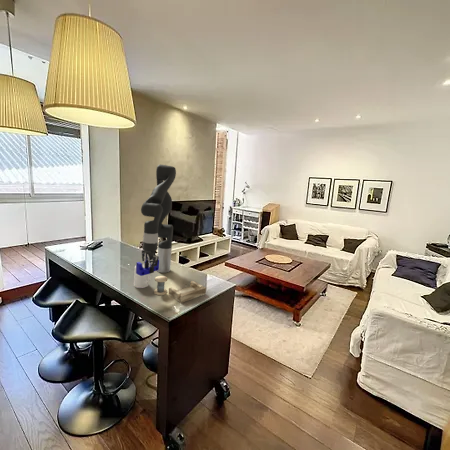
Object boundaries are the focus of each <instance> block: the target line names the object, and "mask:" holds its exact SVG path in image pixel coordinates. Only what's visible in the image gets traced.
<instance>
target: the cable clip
mask: <svg viewBox="0 0 450 450" xmlns="http://www.w3.org/2000/svg"><path fill="white" fill-rule="evenodd" d="M142 264H143V263H142V262H140V261H137V262H136V265H135V266H136V274H138V275H140V276H143V275H147V274H150V275H151V274H152V273H149V271H150V266H149V267H148V268H143V266H142ZM157 270H159V259H158V263H157V266H154V272H158V271H157Z"/></svg>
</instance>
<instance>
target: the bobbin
mask: <svg viewBox="0 0 450 450" xmlns="http://www.w3.org/2000/svg"><path fill="white" fill-rule="evenodd" d="M154 281H155V282H157V283H156V284H157V285H156V289H154V291H153V293H154V294H155V295H156V296H163V295H166V294H167V291H168V290H167V289H166V288H165V285H166V284H165V282H167V281H168V277H167V276H165V275H158V276H155V278H154Z"/></svg>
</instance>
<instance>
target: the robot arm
mask: <svg viewBox="0 0 450 450" xmlns="http://www.w3.org/2000/svg"><path fill="white" fill-rule="evenodd" d="M155 175H156V176H155V179H156V186H155V187H154V188H153V189H152V192H151V194H150V196H149V197H148V198H147V199H146V200H145V201H144V202H143V204H142V205H141V208H140V212H141V214H142V215H143V216H144V217H149V218H150V217H151V218H153V219H151V220H146V221H145V222H144V227H143V237H142V250H141V260H142V262H143V264H145V267H144V268H148V267H150V271H149V273H151V274H153V273H155V271H154V266H157V263H158V259H159V270H157V271H156V272H158V273H161V274H163V273H164V274H166V273H169V272H170V271H171V265H172V263H171V262H172V250H173V249H172V247H173V235H174V226H173V224H166V223H165V224H163V222H164V220H165V219H166V218H167V216H168V215H169V214H170V213H171V211H172V209H173V200H172V197H171V194H170V192H169V191H168V190H169V189H170V188H171V186H172V185H173V183H174V182H175V179H176V175H177V169H176V167H175V166H172V165H166V164H157V166H156V172H155ZM159 238H160V239H161V238H163V239H166V240H162V241H159ZM156 251H157V253H156ZM156 254H157V255H156Z"/></svg>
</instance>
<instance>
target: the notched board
mask: <svg viewBox="0 0 450 450" xmlns="http://www.w3.org/2000/svg"><path fill="white" fill-rule="evenodd" d="M206 293H207V287H205V286H204V285H202V284H199V282H196V281H194V280H192V281H190V285H189V286H187V287H184V288H180V289H175V288H174V287H172V286H171V287H169V288H168V296H169V297H171V298H173V299H174V300H176V301H177V302H179V303H180V304H183V303H185V302H188V301H191V300H194V299H197V298H198V297H199V298H200V297H201V296H204V295H206Z"/></svg>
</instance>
